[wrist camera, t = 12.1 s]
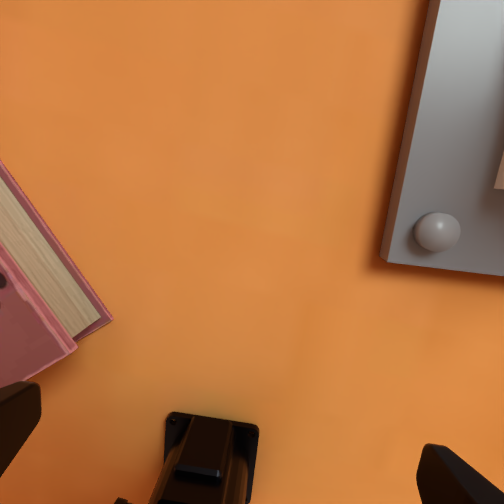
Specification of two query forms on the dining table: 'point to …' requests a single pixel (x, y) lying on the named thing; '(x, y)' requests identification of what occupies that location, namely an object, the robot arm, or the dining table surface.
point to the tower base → (453, 146)
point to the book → (38, 291)
